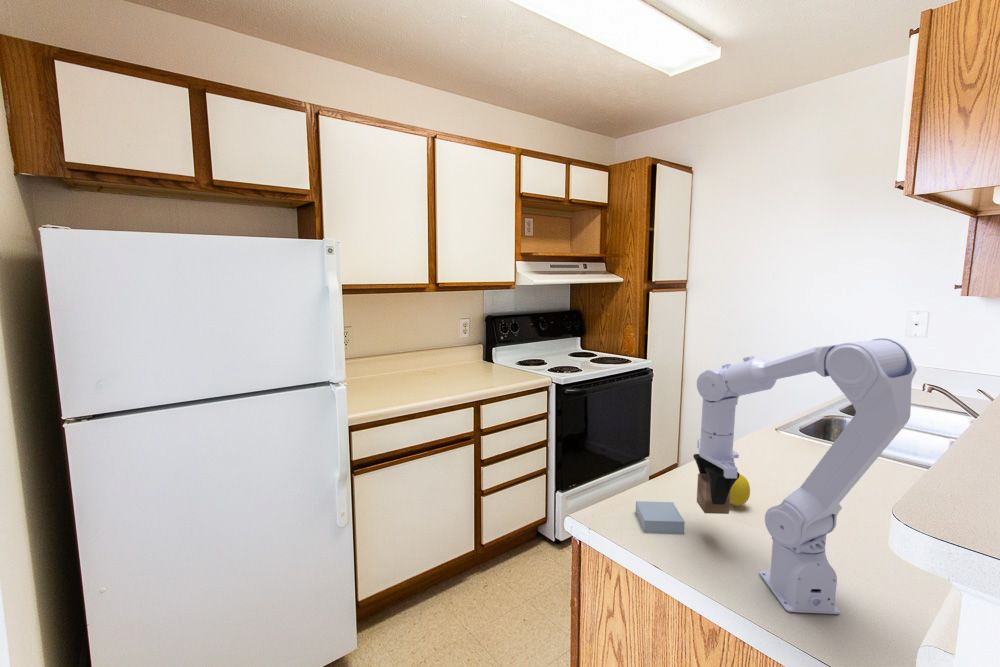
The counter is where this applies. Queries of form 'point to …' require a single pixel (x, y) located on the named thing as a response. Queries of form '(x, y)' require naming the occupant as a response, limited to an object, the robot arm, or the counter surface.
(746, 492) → the lemon
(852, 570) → the counter surface
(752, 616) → the counter surface
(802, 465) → the counter surface
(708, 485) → the walnut block
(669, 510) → the blue-gray block
